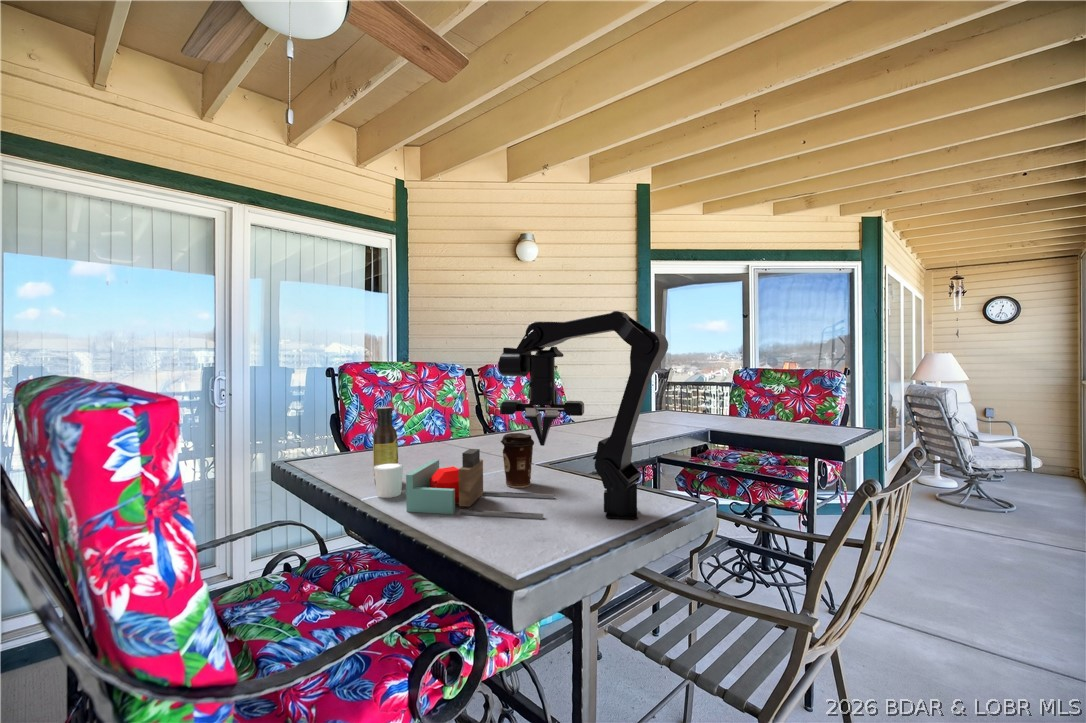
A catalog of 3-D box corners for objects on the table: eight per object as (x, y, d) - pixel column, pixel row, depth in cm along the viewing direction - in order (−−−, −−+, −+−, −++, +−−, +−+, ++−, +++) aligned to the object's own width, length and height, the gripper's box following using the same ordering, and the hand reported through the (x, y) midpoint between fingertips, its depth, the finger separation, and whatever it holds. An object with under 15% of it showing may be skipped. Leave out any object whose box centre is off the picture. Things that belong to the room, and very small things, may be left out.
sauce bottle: (402, 482, 132) (401, 407, 131) (380, 487, 128) (379, 409, 127) (391, 477, 137) (390, 405, 136) (369, 482, 132) (368, 407, 132)
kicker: (483, 493, 118) (482, 447, 118) (469, 506, 108) (469, 456, 108) (473, 492, 118) (473, 446, 118) (459, 505, 109) (458, 455, 108)
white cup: (400, 488, 126) (399, 461, 126) (406, 495, 120) (406, 466, 120) (371, 492, 123) (371, 464, 122) (377, 500, 116) (376, 470, 116)
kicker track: (554, 497, 117) (554, 494, 117) (542, 519, 103) (542, 515, 103) (480, 494, 121) (480, 490, 121) (459, 514, 106) (459, 510, 106)
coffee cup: (498, 489, 125) (498, 437, 124) (502, 480, 133) (502, 432, 133) (533, 489, 124) (533, 437, 124) (535, 480, 133) (535, 432, 132)
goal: (474, 493, 121) (474, 461, 121) (452, 514, 106) (452, 476, 106) (433, 491, 123) (433, 459, 123) (406, 511, 108) (406, 474, 108)
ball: (426, 501, 116) (426, 468, 115) (458, 495, 120) (457, 463, 120) (440, 510, 109) (440, 475, 109) (473, 503, 114) (473, 470, 113)
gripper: (586, 375, 120) (586, 440, 120) (510, 375, 123) (511, 438, 124) (581, 378, 109) (582, 449, 109) (499, 377, 112) (499, 446, 113)
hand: (542, 445), depth 114 cm, fingers closed
